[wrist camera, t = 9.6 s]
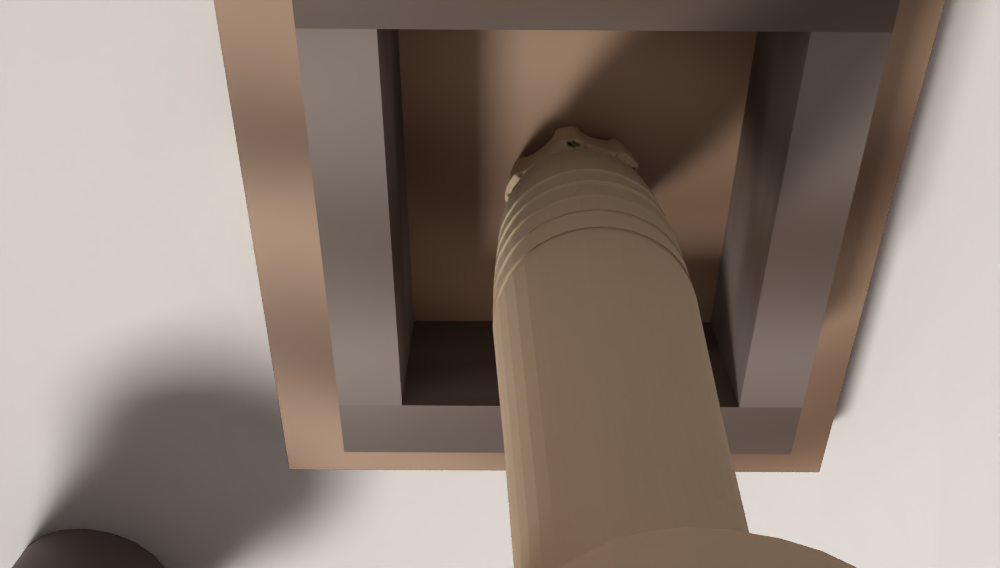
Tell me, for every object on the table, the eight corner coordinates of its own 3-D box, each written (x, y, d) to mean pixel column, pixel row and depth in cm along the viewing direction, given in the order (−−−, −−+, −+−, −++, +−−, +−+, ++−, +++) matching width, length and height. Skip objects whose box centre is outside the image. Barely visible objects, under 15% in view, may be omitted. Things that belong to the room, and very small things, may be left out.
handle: (719, 92, 21) (1047, 685, 9) (615, 309, 24) (741, 967, 12) (521, 28, 20) (562, 583, 8) (441, 262, 24) (380, 916, 11)
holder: (184, -327, 18) (87, -333, 14) (993, -320, 18) (1143, -326, 14) (298, 435, 29) (264, 561, 25) (805, 438, 29) (856, 564, 25)
